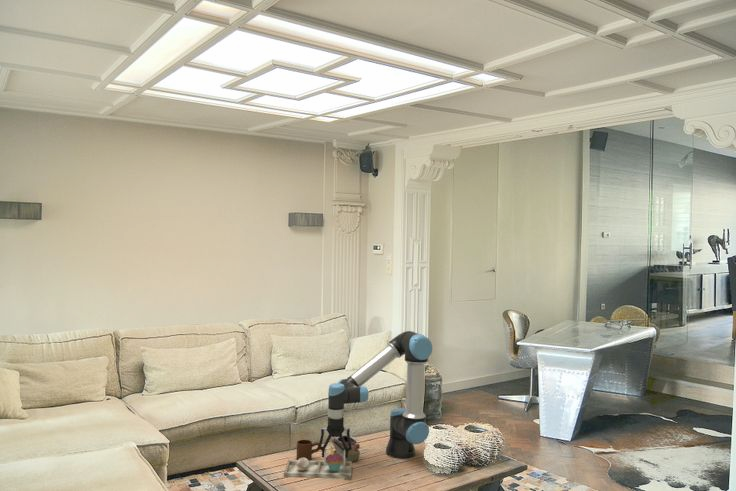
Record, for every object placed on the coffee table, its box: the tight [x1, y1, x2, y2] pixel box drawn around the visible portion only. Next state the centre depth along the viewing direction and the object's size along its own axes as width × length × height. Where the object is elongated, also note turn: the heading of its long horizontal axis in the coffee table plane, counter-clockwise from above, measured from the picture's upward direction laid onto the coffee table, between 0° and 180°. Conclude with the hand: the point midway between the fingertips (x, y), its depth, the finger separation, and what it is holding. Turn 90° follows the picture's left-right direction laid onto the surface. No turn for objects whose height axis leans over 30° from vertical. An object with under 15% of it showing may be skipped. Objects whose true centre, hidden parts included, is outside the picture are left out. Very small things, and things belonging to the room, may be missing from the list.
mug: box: [296, 439, 320, 461], centre depth 305 cm, size 12×8×9 cm, turn 99°
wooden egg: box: [297, 457, 309, 471], centre depth 290 cm, size 6×6×6 cm
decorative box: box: [330, 434, 361, 463], centre depth 312 cm, size 13×20×10 cm, turn 19°
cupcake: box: [326, 445, 344, 471], centre depth 290 cm, size 9×8×12 cm
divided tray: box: [283, 459, 352, 481], centre depth 290 cm, size 31×16×2 cm, turn 91°
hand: (334, 464), depth 290 cm, fingers closed on cupcake, 8 cm apart
